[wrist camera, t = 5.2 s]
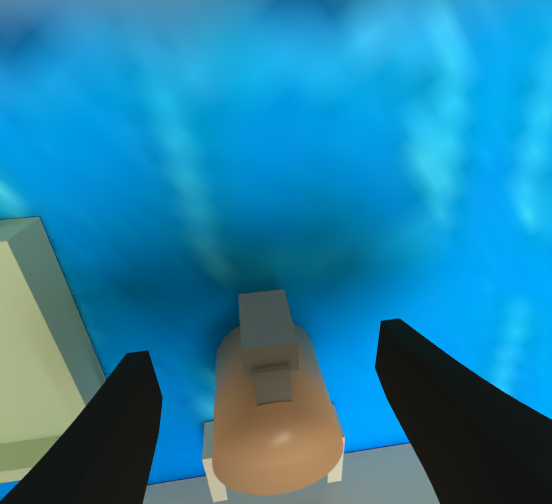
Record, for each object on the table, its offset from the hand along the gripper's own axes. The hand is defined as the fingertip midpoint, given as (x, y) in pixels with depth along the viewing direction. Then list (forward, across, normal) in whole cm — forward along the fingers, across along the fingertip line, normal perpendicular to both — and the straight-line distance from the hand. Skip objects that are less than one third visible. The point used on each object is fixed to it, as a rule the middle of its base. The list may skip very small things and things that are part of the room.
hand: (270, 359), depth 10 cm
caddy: (+4, 0, +3) cm, 6 cm away
